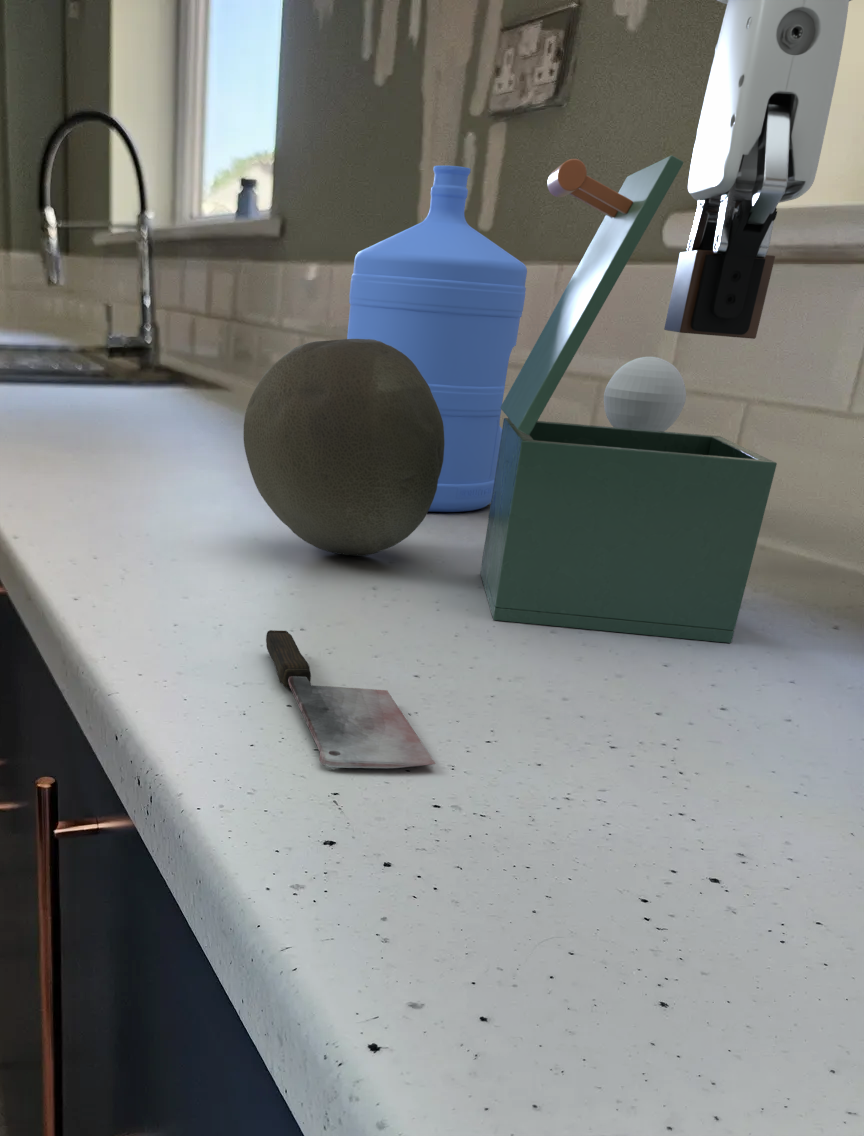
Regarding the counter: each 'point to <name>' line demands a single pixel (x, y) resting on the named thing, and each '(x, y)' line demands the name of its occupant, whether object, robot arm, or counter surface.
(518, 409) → the lid
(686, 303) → the tea block
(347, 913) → the counter surface
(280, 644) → the cleaver
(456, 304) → the water jug
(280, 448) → the cantaloupe
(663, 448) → the green box
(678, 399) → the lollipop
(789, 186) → the robot arm
